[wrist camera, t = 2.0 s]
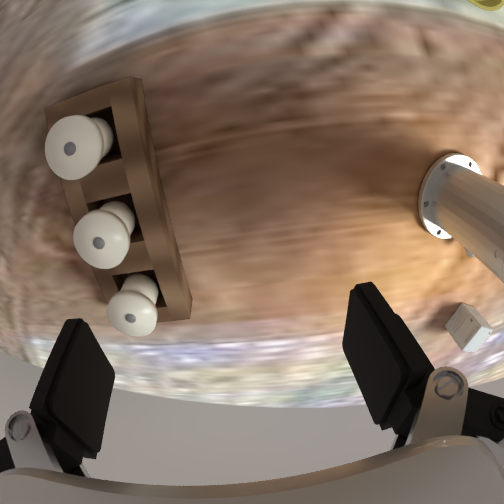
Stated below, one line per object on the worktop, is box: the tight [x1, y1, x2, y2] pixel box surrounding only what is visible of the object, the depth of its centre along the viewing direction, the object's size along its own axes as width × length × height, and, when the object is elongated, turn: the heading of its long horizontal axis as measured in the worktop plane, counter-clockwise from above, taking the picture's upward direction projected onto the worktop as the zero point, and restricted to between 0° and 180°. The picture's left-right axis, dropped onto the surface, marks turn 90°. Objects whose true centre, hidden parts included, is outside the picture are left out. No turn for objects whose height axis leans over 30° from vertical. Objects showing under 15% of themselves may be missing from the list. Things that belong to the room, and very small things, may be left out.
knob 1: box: [45, 115, 114, 180], centre depth 23 cm, size 6×6×5 cm
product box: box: [445, 303, 493, 352], centre depth 44 cm, size 6×6×7 cm
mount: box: [45, 77, 192, 323], centre depth 31 cm, size 28×10×4 cm, turn 7°
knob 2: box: [73, 201, 135, 269], centre depth 27 cm, size 6×6×5 cm
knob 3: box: [106, 274, 159, 337], centre depth 31 cm, size 6×6×5 cm
